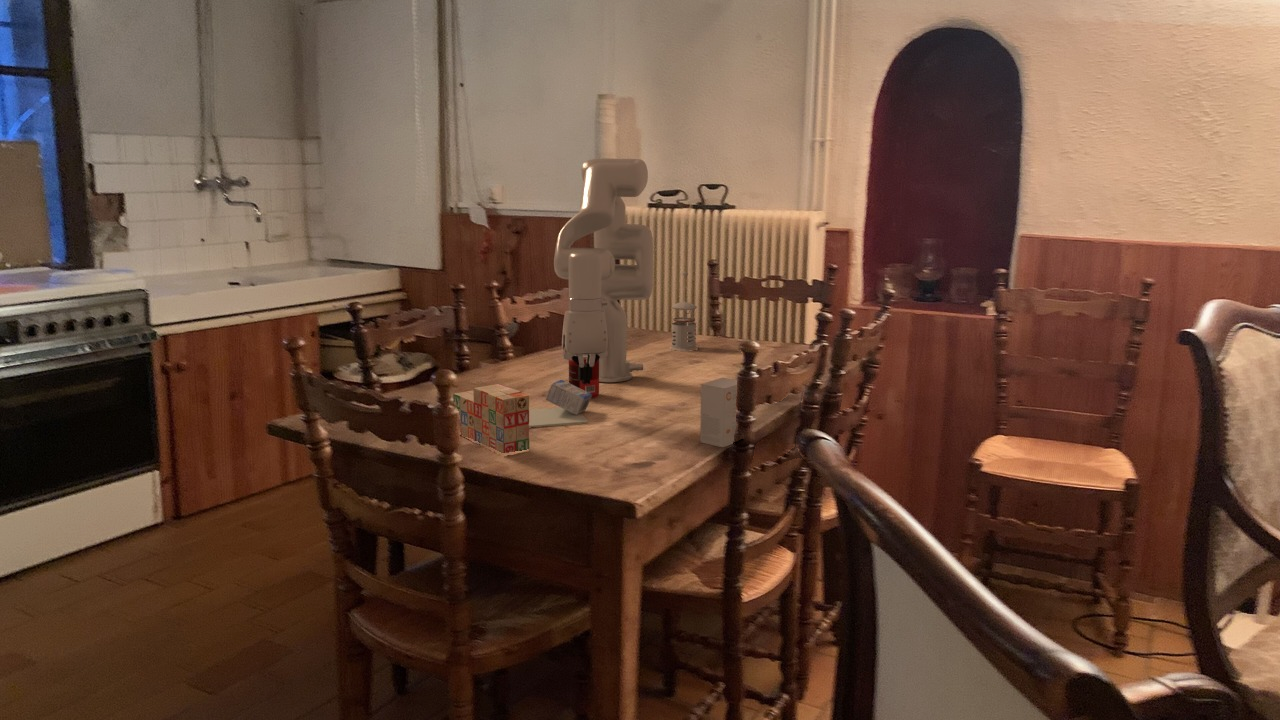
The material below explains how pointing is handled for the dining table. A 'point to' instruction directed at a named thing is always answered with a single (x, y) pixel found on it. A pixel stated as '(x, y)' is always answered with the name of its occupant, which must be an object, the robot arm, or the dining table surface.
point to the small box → (718, 412)
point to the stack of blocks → (495, 417)
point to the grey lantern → (684, 327)
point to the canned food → (594, 382)
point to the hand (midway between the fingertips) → (585, 382)
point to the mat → (554, 417)
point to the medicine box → (568, 397)
